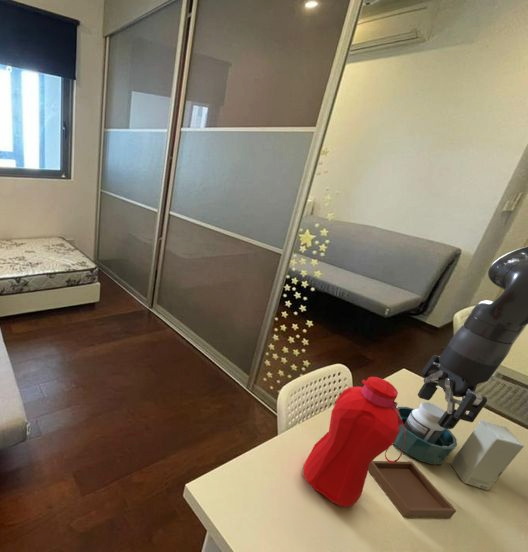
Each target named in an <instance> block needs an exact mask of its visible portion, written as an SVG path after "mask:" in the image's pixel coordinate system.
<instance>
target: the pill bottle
mask: <svg viewBox="0 0 528 552" xmlns="http://www.w3.org/2000/svg"><path fill="white" fill-rule="evenodd" d="M413 409H414V410H413V411H412V412H411V414H410V415H409V417H408V418H407V420H406V422H405V423H404V427H405V428H406V429H407V430H409V431H410V432H411V433H413V434H414V435H416V436H417V437H419V438H421V439H423V440H425V441H427V442H429V443H432V444H435V442H436V441H437V439H438V438H439V436H440V435H441V434H442V432H443V431H444V429H445V428H443V427H440V426H439V424H438V421H439V420H440V418H441V417H442V416H443V414H444V413H445V411H446V410H444V409H443V408H441V407H440V406H438V405H437V404H435V403H431V402H428V401H422V402H421V403H420V404H419V406H418V408H413Z"/></svg>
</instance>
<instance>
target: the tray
mask: <svg viewBox="0 0 528 552" xmlns="http://www.w3.org/2000/svg"><path fill="white" fill-rule="evenodd" d="M368 473H370V475H371V476H372V478H373V479H374V481H376V483H377V484H378V485H379V487H380V488H381V489H382V491H383V492H384V493H385V495H386V496H387V497H388V498H389V500H390V501H391V503H392V504H393V505H394V506H395V508H396V509H397V510H398V511H399V513H400V514H401V516H402V517H403V518H426V519H427V518H429V519H430V518H435V519H436V518H439V519H441V518H445V519H446V518H447V519H450V518H452V517H453V516H454V514H456V512H457V510H456V509H455V508H454V506H453V505H452V504H451V503H450V502H449V500H447V498H445V496H444V495H443V494H441V493H442V492H440V490H438V489H437V487H436V486H435V485H433V483H432V482H431V481H430V480H429V479H428V478H427V477H426V475H424V473H423V472H422V471H421V470H420V469H419V468H418V467H417V466H416V464H414V462H413V461H399V460H398V461H396V462H394V463H391V462H389V461H387V460H373V461H372V462H371V463H370V464H369V468H368Z"/></svg>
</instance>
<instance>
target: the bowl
mask: <svg viewBox="0 0 528 552" xmlns="http://www.w3.org/2000/svg"><path fill="white" fill-rule="evenodd" d="M396 408H397V409H398V411H399V412H400V416H401V418H402V422H403V425H404V423H405V422H406V420H407V418H408V417H409V415H410V414H411V412H412V411H413V410H414V409H415V408H412V407H409V406H396ZM403 425H402V423H401V428H400V426H399V429H400V432H399V434H398V435H397V438H396V440H395V442H394V443H393V444H394V446H396V447H397V449H400V450H401V451H402V450H403V452H404V453H405V454H406V455H407V456H410V457H412V458H413V459H416V460H418V461H420V462H423V463H426V464H430V465H442V464H444V463H445V462H446V461H447V460H448V458H450V456H451V454H452V453H453V452H454V450H455V449H456V448H457V447H458V441H457V438H456V436H455V435H454V434H453V433H452V431H451V429H447V428H445V429H444V431H443V432H442V434H441V435H440V436H439V438H438V439H437V441H436V442H435V444H432V443H429V442H427V441H425V440H423V439H421V438H419V437H417V436H416V435H414V434H413V433H411V432H410V431H409V430H407V429H406V428H405V429H406V438H405V429H404V427H403ZM404 441H405V444H404ZM403 446H404V449H403ZM403 452H402V453H403Z"/></svg>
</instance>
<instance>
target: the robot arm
mask: <svg viewBox="0 0 528 552" xmlns="http://www.w3.org/2000/svg"><path fill="white" fill-rule="evenodd" d="M487 276H488V279H489V280H490V281H491V282H492V283H493V284H494V285H495V286H496V287H498V288H500V289H502V290H504V291H503V292H502V293H501V294H500V295H499V296H498V297H497V298H496V299H495V300H487V299H485V300H482V301H480V302H477V304H476V305H475V306H474V307H473V308H472V310H471V312H469V314H468V316H467V317H466V319H465V321H464V322H463V323H462V325H461V326H460V327H459V328H458V329H457V330H456V332H455V333H454V334H453V336H452V337H451V338H450V340H449V342H448V344H447V345H446V346H445V348H444V350H443V351H442V353H440V355H437V354H433V355H432V356H431V357H430V359H429V360H428V362H427V363H426V365H425V366H424V368H423V369H422V370H421V371H420V376H422V377H424V378H423V385H422V386H421V388H420V389H419V391H418V393H417V397H418V398H419V399H422V400H426V401H430V400H432V398H433V396H434V395H435V393H436V392H437V391H438V387H440V388H442V391H443V392H444V393H445V394H444V400H445V402H447V405H446V407H447V408H446V410H444V411H445V413H444V414H443V416H442V417H441V418H440V420H439V421H438V424H439V426H440V427H443V428H447V429H449V430H453V429H454V428H455V427H456V426H457V424H459V422H460V421H466V422H468V423H474V421H475V420H476V418H477V417H478V415H479V414H480V413H481V411H482V409H483V408H484V407H485V405H486V403H487V402H488V398H487V397H486V396H483V395H480V394H479V393H477V392H476V390H477V387H478V385H479V384H483V383H486V382H488V381H489V380H490V379H491V378H492V376H493V375H494V374H495V372H496V371H497V369H498V368H499V367H500V365H502V363H503V361H504V360H506V357H507V356H508V355H509V353H510V351H511V349H512V347H513V345H514V343H515V342H516V340H517V339H518V338H519V337H520V335H521V334H522V333H523V331H524V330H525V329H526V327H527V326H528V245H526V246H524V247H521V248H517V249H515V250H513V251H510V252H507V253H506V254H503V255H502V256H500V257H499V258H496V260H495V261H494V262H493V263H492V264H491V265H490V266H489V268H488V271H487ZM430 371H432V372H430ZM457 398H461V400H460V399H457ZM456 405H458V406H457V408H456Z"/></svg>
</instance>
